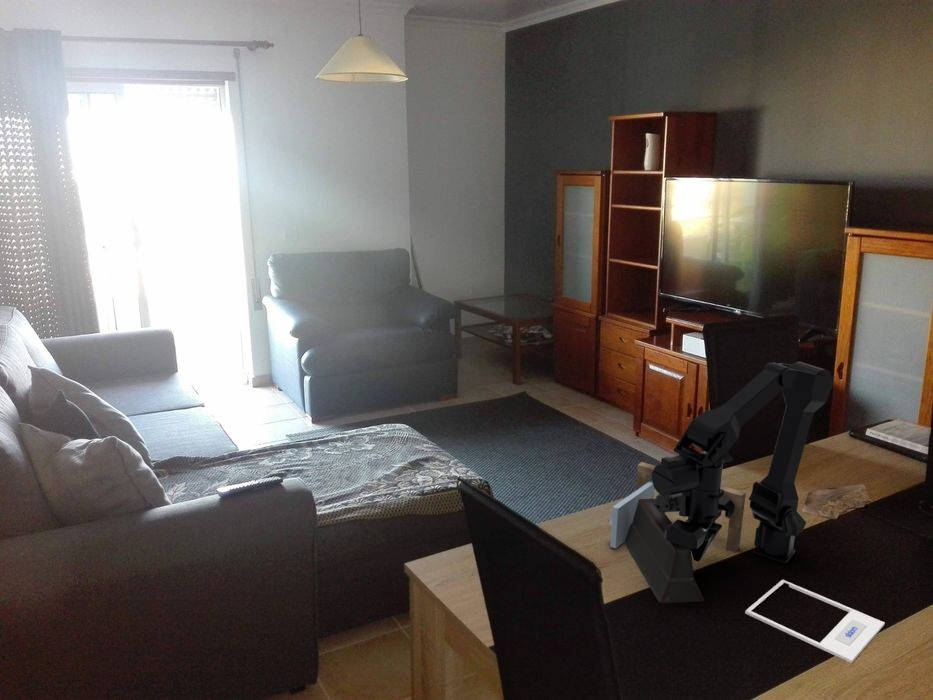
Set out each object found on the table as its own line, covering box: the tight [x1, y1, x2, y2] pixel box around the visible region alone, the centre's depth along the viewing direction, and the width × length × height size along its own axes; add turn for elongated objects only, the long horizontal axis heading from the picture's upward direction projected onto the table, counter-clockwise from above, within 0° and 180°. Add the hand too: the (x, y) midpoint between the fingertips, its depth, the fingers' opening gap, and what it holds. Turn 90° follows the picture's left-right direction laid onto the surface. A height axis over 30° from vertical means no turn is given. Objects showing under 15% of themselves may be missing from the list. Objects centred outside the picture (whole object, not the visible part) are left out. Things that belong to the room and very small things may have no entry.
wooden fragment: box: [801, 484, 872, 520], centre depth 175 cm, size 26×11×1 cm, turn 122°
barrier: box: [622, 498, 705, 604], centre depth 146 cm, size 24×9×10 cm, turn 6°
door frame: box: [635, 461, 747, 553], centre depth 159 cm, size 23×2×12 cm, turn 50°
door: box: [607, 480, 656, 549], centre depth 158 cm, size 16×3×9 cm, turn 139°
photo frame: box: [744, 579, 886, 664], centre depth 131 cm, size 15×1×18 cm
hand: (696, 560), depth 143 cm, fingers closed
